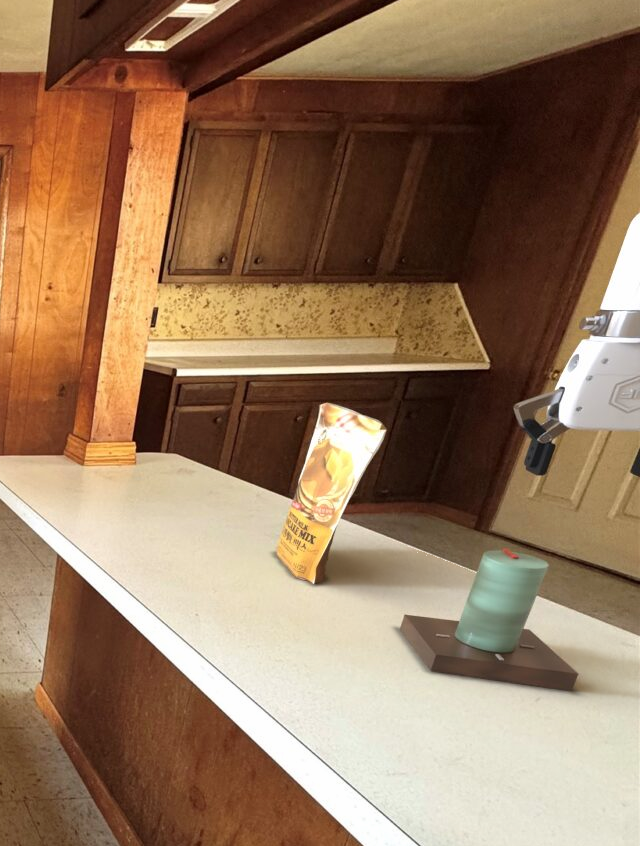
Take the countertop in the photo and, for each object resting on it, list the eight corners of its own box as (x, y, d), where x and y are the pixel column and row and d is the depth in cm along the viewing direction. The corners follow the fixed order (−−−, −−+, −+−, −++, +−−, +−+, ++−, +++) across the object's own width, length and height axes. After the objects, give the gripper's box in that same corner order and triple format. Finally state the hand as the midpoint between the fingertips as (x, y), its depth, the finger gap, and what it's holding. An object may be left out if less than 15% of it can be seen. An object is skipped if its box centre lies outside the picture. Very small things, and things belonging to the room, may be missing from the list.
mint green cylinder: (524, 656, 85) (560, 568, 80) (464, 648, 87) (496, 562, 82) (503, 634, 90) (535, 551, 85) (447, 627, 92) (476, 545, 88)
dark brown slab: (523, 645, 92) (530, 628, 91) (571, 691, 82) (579, 673, 81) (399, 629, 97) (404, 613, 96) (430, 671, 87) (436, 653, 86)
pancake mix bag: (305, 548, 126) (342, 400, 116) (346, 590, 109) (394, 421, 99) (266, 545, 128) (298, 400, 118) (300, 586, 111) (342, 421, 101)
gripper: (559, 331, 74) (509, 479, 80) (783, 326, 67) (710, 487, 74) (524, 326, 80) (481, 464, 86) (726, 321, 74) (664, 470, 80)
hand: (587, 474), depth 80 cm, fingers open, 9 cm apart
